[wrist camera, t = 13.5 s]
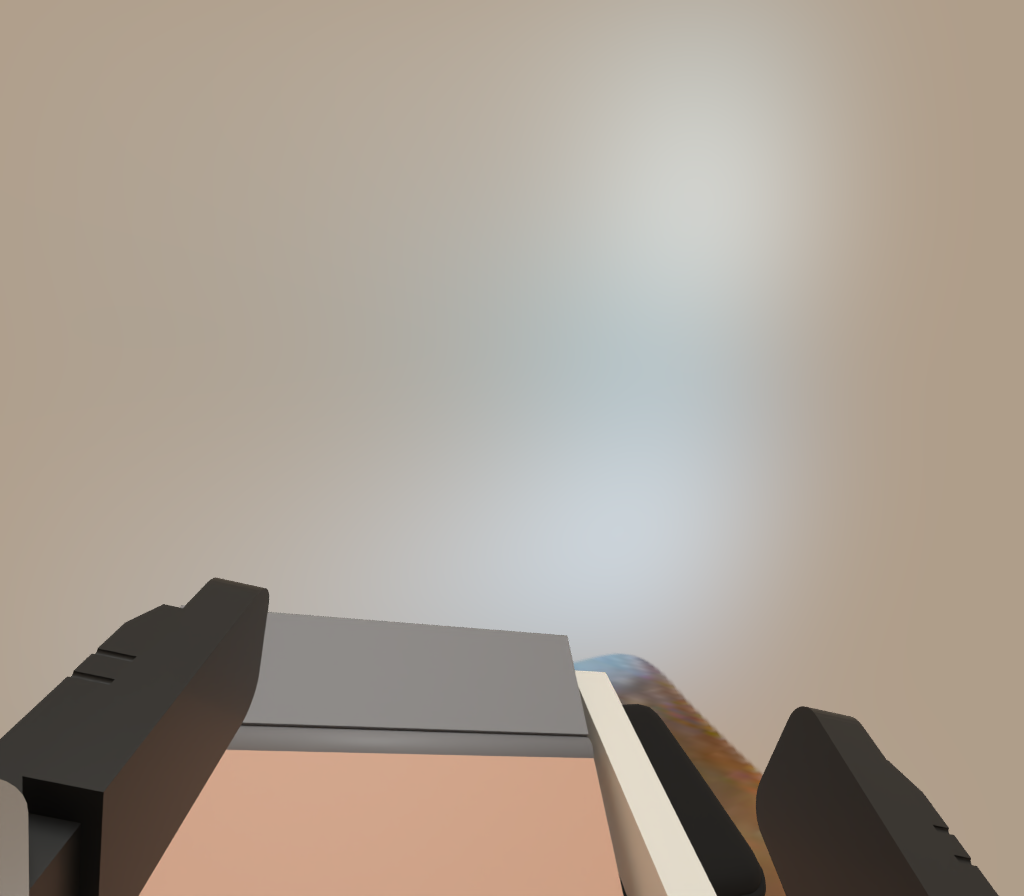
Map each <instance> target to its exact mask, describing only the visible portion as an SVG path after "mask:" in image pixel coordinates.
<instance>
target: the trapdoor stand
mask: <svg viewBox="0 0 1024 896" xmlns="http://www.w3.org/2000/svg"><path fill="white" fill-rule="evenodd" d="M575 674H576V679H577V683H578V688H579V692H580V697H581V702H582V706H583V711H584V716H585V720H586V725H587V729H588V736H587V737H588V738H589V739H590V741H591V743H592V746H593V753H594V762H595V766H596V771H597V776H598V780H599V785H600V790H601V794H602V799H603V804H604V808H605V813H606V817H607V822H608V827H609V831H610V836H611V841H612V845H613V850H614V854H615V859H616V864H617V868H618V873H619V876H620V878H621V881H622V884H623V886H624V889H625V892H626V895H627V896H717V895H716V893H715V891H714V889H713V887H712V885H711V883H710V881H709V879H708V877H707V875H706V873H705V871H704V869H703V867H702V865H701V863H700V861H699V859H698V857H697V855H696V853H695V851H694V849H693V847H692V845H691V843H690V841H689V839H688V837H687V835H686V833H685V831H684V829H683V827H682V825H681V823H680V821H679V819H678V817H677V815H676V813H675V811H674V809H673V807H672V805H671V803H670V801H669V799H668V797H667V795H666V793H665V791H664V789H663V787H662V785H661V783H660V781H659V779H658V777H657V775H656V772H655V770H654V768H653V766H652V764H651V762H650V760H649V758H648V756H647V754H646V752H645V750H644V748H643V746H642V744H641V742H640V740H639V738H638V736H637V734H636V732H635V730H634V728H633V726H632V724H631V722H630V720H629V718H628V716H627V714H626V712H625V710H624V708H623V706H622V704H621V702H620V700H619V698H618V696H617V694H616V692H615V690H614V688H613V686H612V684H611V682H610V680H609V678H608V676H607V674H606V673H605V672H589V671H575Z"/></svg>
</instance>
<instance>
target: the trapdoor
mask: <svg viewBox="0 0 1024 896" xmlns="http://www.w3.org/2000/svg"><path fill="white" fill-rule="evenodd" d="M184 607H185V606H184V605H181V608H184ZM587 736H588V729H587V725H586V720H585V716H584V711H583V706H582V702H581V697H580V692H579V688H578V683H577V679H576V674H575V669H574V665H573V660H572V655H571V651H570V647H569V642H568V637H567V636H564V635H552V634H540V633H526V632H515V631H501V630H489V629H476V628H464V627H451V626H438V625H426V624H413V623H400V622H387V621H375V620H362V619H349V618H337V617H324V616H323V617H322V616H311V615H299V614H286V613H272V612H268V613H267V620H266V628H265V635H264V642H263V650H262V657H261V665H260V672H259V678H258V683H257V687H256V691H255V694H254V697H253V700H252V703H251V705H250V708H249V710H248V712H247V715H246V717H245V719H244V721H243V722H242V724H241V726H240V727H239V729H238V731H237V732H236V734H235V736H234V738H233V739H232V741H231V743H230V744H229V746H228V748H227V749H226V751H225V753H224V754H223V756H222V758H221V759H220V761H219V763H218V764H217V766H216V768H215V769H214V771H213V773H212V774H211V776H210V778H209V779H208V781H207V783H206V784H205V786H204V788H203V789H202V791H201V793H200V794H199V796H198V798H197V799H196V801H195V803H194V804H193V806H192V808H191V809H190V811H189V813H188V814H187V816H186V818H185V819H184V821H183V823H182V824H181V826H180V828H179V829H178V831H177V833H176V834H175V836H174V838H173V839H172V841H171V843H170V844H169V846H168V848H167V849H166V851H165V853H164V854H163V856H162V858H161V859H160V861H159V863H158V864H157V866H156V868H155V869H154V871H153V873H152V874H151V876H150V878H149V879H148V881H147V883H146V884H145V886H144V888H143V889H142V891H141V893H140V894H139V896H623V891H622V887H621V882H620V878H619V873H618V868H617V864H616V859H615V854H614V850H613V845H612V841H611V836H610V831H609V827H608V822H607V817H606V813H605V808H604V804H603V799H602V794H601V790H600V785H599V780H598V776H597V771H596V766H595V762H594V753H593V746H592V743H591V741H590V739H589V738H588V737H587Z"/></svg>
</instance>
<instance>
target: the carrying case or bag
mask: <svg viewBox="0 0 1024 896" xmlns="http://www.w3.org/2000/svg"><path fill="white" fill-rule="evenodd" d="M622 706H623V708H624V710H625V712H626V714H627V716H628V718H629V720H630V722H631V724H632V726H633V728H634V730H635V732H636V734H637V736H638V738H639V740H640V742H641V744H642V746H643V748H644V750H645V752H646V754H647V756H648V758H649V760H650V762H651V764H652V766H653V768H654V770H655V772H656V775H657V777H658V779H659V781H660V783H661V785H662V787H663V789H664V791H665V793H666V795H667V797H668V799H669V801H670V803H671V805H672V807H673V809H674V811H675V813H676V815H677V817H678V819H679V821H680V823H681V825H682V827H683V829H684V831H685V833H686V835H687V837H688V839H689V841H690V843H691V845H692V847H693V849H694V851H695V853H696V855H697V857H698V859H699V861H700V863H701V865H702V867H703V869H704V871H705V873H706V875H707V877H708V879H709V881H710V883H711V885H712V887H713V889H714V891H715V893H716V895H717V896H765V892H766V884H765V877H764V873H763V870H762V868H761V866H760V865H759V863H758V861H757V859H756V857H755V855H754V853H753V851H752V850H751V848H750V846H749V845H748V843H747V842H746V840H745V839H744V837H743V836H742V835H741V833H740V832H739V830H738V829H737V827H736V826H735V824H734V823H733V821H732V820H731V818H730V817H729V815H728V814H727V812H726V811H725V810H724V808H723V807H722V805H721V804H720V802H719V801H718V799H717V798H716V796H715V795H714V793H713V792H712V791H711V789H710V788H709V786H708V785H707V783H706V782H705V780H704V779H703V777H702V776H701V775H700V773H699V772H698V770H697V769H696V767H695V766H694V765H693V763H692V762H691V760H690V759H689V757H688V756H687V755H686V753H685V752H684V750H683V749H682V747H681V746H680V745H679V743H678V742H677V740H676V739H675V737H674V736H673V735H672V733H671V732H670V730H669V729H668V728H667V726H666V725H665V723H664V722H663V721H662V719H661V718H660V717H659V716H658V715H657V714H656V713H655V712H654V711H653V710H652V709H651V708H650V707H647V706H643V705H639V704H629V705H622ZM619 878H620V876H619ZM620 882H621V887H622V891H623V896H627V895H626V892H625V889H624V886H623V884H622V881H621V878H620Z"/></svg>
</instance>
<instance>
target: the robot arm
mask: <svg viewBox="0 0 1024 896" xmlns="http://www.w3.org/2000/svg"><path fill="white" fill-rule="evenodd" d="M268 605H269V592H268V590H267V589H266V588H261V587H257V586H252V585H248V584H243V583H238V582H234V581H229V580H224V579H220V578H213V579H211V580H210V581H209V582H208V583H207V584H206V585H205V586H204V587H203V588H202V589H201V590H200V591H199V592H198V593H197V594H196V595H195V596H194V597H193V598H192V599H191V600H190V601H189V602H188V603H187V604H186V605H185V607H184V608H179V607H174V606H169V605H165V604H163V605H161V606H159V607H157V608H155V609H153V610H151V611H149V612H147V613H145V614H142V615H140V616H138V617H136V618H134V619H132V620H130V621H128V622H126V623H125V624H123V625H122V626H121V627H120V628H119V629H118V630H117V631H116V632H115V633H114V634H113V635H112V636H110V638H108V639H107V640H106V641H105V642H104V643H103V644H102V645H101V646H100V647H99V648H98V650H97V652H96V654H91V655H90V656H89V657H88V658H87V659H86V660H85V661H84V662H83V663H81V664H80V665H79V666H78V667H77V668H76V669H75V670H74V672H73V675H72V676H71V677H67V678H65V679H64V680H63V681H62V682H61V683H60V684H59V685H58V686H57V687H56V688H55V689H54V690H52V691H51V692H50V693H49V694H48V695H47V696H46V697H45V698H44V699H43V700H42V701H41V702H40V703H39V704H37V705H36V706H35V707H34V708H33V709H32V710H31V711H30V712H29V713H28V714H27V715H26V716H25V717H23V718H22V720H20V721H19V722H18V723H17V724H16V725H15V726H14V727H13V728H12V729H11V730H10V731H9V732H7V733H6V734H5V735H4V736H3V737H2V738H1V739H0V896H139V894H140V893H141V891H142V889H143V888H144V886H145V884H146V883H147V881H148V879H149V878H150V876H151V874H152V873H153V871H154V869H155V868H156V866H157V864H158V863H159V861H160V859H161V858H162V856H163V854H164V853H165V851H166V849H167V848H168V846H169V844H170V843H171V841H172V839H173V838H174V836H175V834H176V833H177V831H178V829H179V828H180V826H181V824H182V823H183V821H184V819H185V818H186V816H187V814H188V813H189V811H190V809H191V808H192V806H193V804H194V803H195V801H196V799H197V798H198V796H199V794H200V793H201V791H202V789H203V788H204V786H205V784H206V783H207V781H208V779H209V778H210V776H211V774H212V773H213V771H214V769H215V768H216V766H217V764H218V763H219V761H220V759H221V758H222V756H223V754H224V753H225V751H226V749H227V748H228V746H229V744H230V743H231V741H232V739H233V738H234V736H235V734H236V732H237V731H238V729H239V727H240V726H241V724H242V722H243V721H244V719H245V717H246V715H247V712H248V710H249V708H250V705H251V703H252V700H253V697H254V694H255V691H256V687H257V683H258V678H259V672H260V665H261V657H262V650H263V642H264V635H265V628H266V620H267V613H268ZM756 814H757V821H758V825H759V829H760V832H761V834H762V837H763V839H764V842H765V844H766V847H767V849H768V851H769V854H770V856H771V859H772V861H773V864H774V866H775V869H776V871H777V874H778V876H779V879H780V881H781V884H782V886H783V888H784V891H785V893H786V896H998V894H997V893H996V892H995V890H994V889H993V888H992V886H991V885H990V883H989V882H988V881H987V879H986V878H985V877H984V875H983V874H982V873H981V871H980V870H979V868H978V867H977V866H973V865H971V861H970V860H971V858H970V856H969V855H968V853H967V852H966V851H965V850H964V848H963V847H962V845H961V844H960V843H959V841H958V840H957V838H956V837H955V836H954V835H950V834H949V832H948V829H949V828H948V826H947V825H946V824H945V822H944V821H943V819H942V818H941V817H940V815H939V814H938V813H937V811H936V810H935V809H934V807H933V806H932V804H931V803H930V802H929V800H928V799H927V798H926V796H925V795H924V794H923V792H922V791H920V790H919V789H918V788H917V787H916V786H915V785H914V784H913V783H912V782H911V781H910V780H909V779H907V778H906V777H905V776H904V775H903V774H902V773H901V772H900V771H899V770H898V769H896V768H895V767H894V766H893V765H892V764H891V763H890V762H889V761H887V760H886V758H885V757H884V756H883V754H882V753H881V752H880V750H879V749H878V747H877V746H876V745H875V743H874V742H873V740H872V739H871V737H870V736H869V735H868V733H867V732H866V730H865V729H864V727H863V726H862V725H861V724H860V722H859V721H857V720H856V719H855V718H853V717H850V716H846V715H841V714H836V713H832V712H827V711H822V710H818V709H813V708H809V707H799V708H797V709H795V710H794V711H793V713H792V714H791V715H790V717H789V719H788V721H787V723H786V726H785V728H784V730H783V732H782V734H781V737H780V739H779V741H778V743H777V745H776V748H775V750H774V752H773V754H772V756H771V758H770V761H769V763H768V765H767V767H766V769H765V772H764V774H763V776H762V778H761V780H760V783H759V786H758V790H757V796H756Z"/></svg>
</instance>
